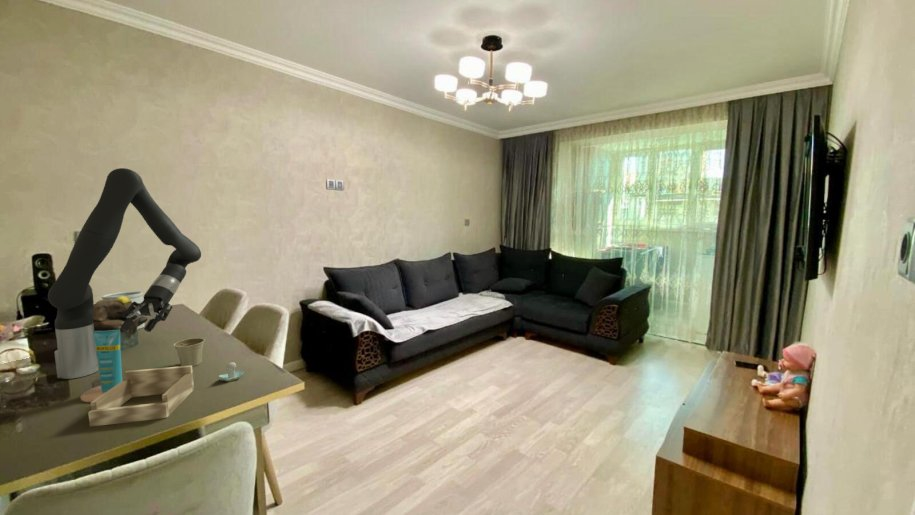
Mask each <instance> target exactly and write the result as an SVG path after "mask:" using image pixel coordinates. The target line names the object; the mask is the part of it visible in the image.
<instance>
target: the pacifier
mask: <svg viewBox="0 0 915 515" xmlns="http://www.w3.org/2000/svg"><path fill="white" fill-rule="evenodd" d="M236 368H237V364H236V363H235V362H234V361H233V362H231V361H230V362H229V363H227V364H226V365H225V369H226V371H227V373H225V374H224V373H223V374H219V375H218V378H219V380H220V381H221V382H222V381H225V382H232V381H235V380H237V379H238V378H239V377H241V376H243V374H244V372H245V370H244V369H239V370H236Z"/></svg>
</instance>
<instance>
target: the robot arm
mask: <svg viewBox="0 0 915 515" xmlns="http://www.w3.org/2000/svg"><path fill="white" fill-rule="evenodd" d="M130 204H131V205H132V206H133V207H134V209H136V210H137V212H138V213H139V215H140V216H141V217H142V219H143V220H144V222H145V223H146V225H147V226H148V227H149V228H150V230H151V231H152V232H153V233H154V235H155V236H156V237H157V238H158V239H159V240H160V242H161V243H162V244H163V245H165V246H170V247H173V248H174V250H173V251H172V252H171V254H170V255H169V257H168V259H167V261H166V264H165V267H164V268H163V269H162V270H161V272H160V274H159V275H158V276H157V277H156V278H155V280H154V281H153V282H152V283H151V285H150V286H149V287H148V289H147V290H146V292H145V293H144V294H143V302H141V303H137V302H133V303H132V304H131V305H130V306H129V308H128V309H127V310H126V312H125V313H124V314H123V317H125V318H126V320H125V322H124V323H123V324H122V326H121V329H122V330H124V331H128V330H129V328H130V327H131V325H132V324H133V322H134V321H135V320H136V319H138V318H141V317H143V316H144V317H147V316H149V317H150V319H149V320H148V322H147V324H145V326H144V327H143V330H144V331H145V332H146V333H150V332H152V331H153V330H154V329H155V327H156V325H157V324H158V323H160V321H161V322H164V321H166V320H167V318H168V316H169V314H170V312H172V310H173V305H172V304H170V301H171V300H172V299H173V298H174V297H173V296H175V294H176V292H177V290H178V289H179V287H180V285H181V284H182V282H183V280H184V278H185V277H186V275H187V269H186V268H187V266H188V265H189V264H192V263H195V262H198V261H199V260H200V259H201V257H202V251H201V249H200V247H199V246H198V245H197V244H196V243H195V242H194V241H192V240H191V239H190V238H189V237H187V236H186V235H184V234H183V233H182V232H181V230H180V229H179V228H178V226H177V225H176V224H175V223H174V222H173V221H172V219H171V218H170V217H169V216H168V215H167V214H166V212H165V211H163V209H162V208H161V207H160V206H159V204H157V202H156V201H155V200H154V198H153V197H152V196H151V194H150V192H149V191H148V190H147V187H146V185H145V184H144V182H143V178H142V177H141V176H140V174H139V173H137V172H136V171H134V170H133V169H129V168H124V167H123V168H122V167H120V168H116V169H113V170H112V171H110V172H109V173H107V177H106V180H105V183H104V185H103V189H102V192H101V195H100V197H99V200H98V202H97V204H96V205H95V206H94V208H93V210H92V211H91V213H90V214H89V215H88V217H87V219H86V220H85V222H84V224H83V225H82V228H81V230H80V232H79V233H78V236H77V238H76V240H75V242H74V245H73V247H72V249H71V250H70V254H69V256H68V259H67V262H66V263H65V266H64V268H63V269H62V271H61V272H60V274H59V276H58V277H57V278H56V279H55V282H54V283H53V284H52V286H51V287H50V288H49V290H48V293H47V299H48V303H49V304H51V306H52V307H54V308H56V309H57V311H56V312H57V314H56V318H55V320H54V329H55V338H56V344H57V345H56V346H57V349H56V350H55V351H54V360H55V361H54V362H55V367H56V369H55V370H56V377H57V379H63V380H64V379H65V380H69V379H76V378H77V379H78V378H82V377H86V376H89V375H92V374H94V373H97V372H98V371H99V364H98V357H97V351H96V344H95V339H94V334H93V331H94V324H93V316H94V304H95V302H94V293H93V292H94V291H93V289H92V287H91V285H90V282H91V279H92V277H93V275H94V273H95V272H96V271H97V269H98V268H99V266H100V265H101V264H102V262H103V261H105V259H106V257H107V256H108V255H109V253H110V252H111V250H112V249H113V247H114V244H115V243H116V242H117V239H118V236H119V234H120V231H121V228H122V225H123V221H124V217H125V213H126V211H127V209H128V207H129V206H130ZM138 311H139V312H140V313H141V314H139V313H138ZM129 312H131V313H130V314H129ZM128 314H129V315H128ZM134 315H136V316H135V317H133V316H134Z"/></svg>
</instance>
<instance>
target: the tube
mask: <svg viewBox="0 0 915 515" xmlns="http://www.w3.org/2000/svg"><path fill="white" fill-rule="evenodd" d="M93 334H94V339H95V344H96V351H97V361H98V371H99V379H100V385H101V389H102V392H107V391H108V390H110V389H111V388H113V387H114V386H116V385H117V384H119V383H120V382H121V381H123V369H122V355H121V354H122V351H121V349H120V330H110V331H93Z"/></svg>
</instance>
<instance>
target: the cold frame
mask: <svg viewBox="0 0 915 515" xmlns="http://www.w3.org/2000/svg"><path fill="white" fill-rule="evenodd" d="M194 385H195V384H194V370H193V367H192V365H191V366H181V365H180V366H171V367H170V366H169V367H158V368H146V369H134V370H126V371H125V372H124V379H122V381H121V382H120V383H119V384H117V385H116V386H114V387H113V388H111V389H110V390H108V391H107V392H105V393H104V394H103V395H101V396H100V397H98V398H97V399H95V400H94V401H92V402H90V408H91V409H90V410H89V411H88V422H89V427H99V426H105V425H106V426H107V425H114V424H115V425H118V424H124V423H133V422H142V421H150V420H159V419H161V420H162V419H167V418H168V417H169V416H170V415H171V414H172V413H173V412H174V411H175V410H177V408H178V407H179V406H180V405H181V403H182V402H184V400H185V399H187V398H188V396H190V394H191V393H192V392H194V390H195V386H194ZM156 395H161V399H162V402H154V403H153V402H152V403H145V404H134V405H127V406H125V405H124V404H125V403H126V402H128V400H130V399H131V398H138V397H148V396H156ZM122 405H124V406H122Z"/></svg>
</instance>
